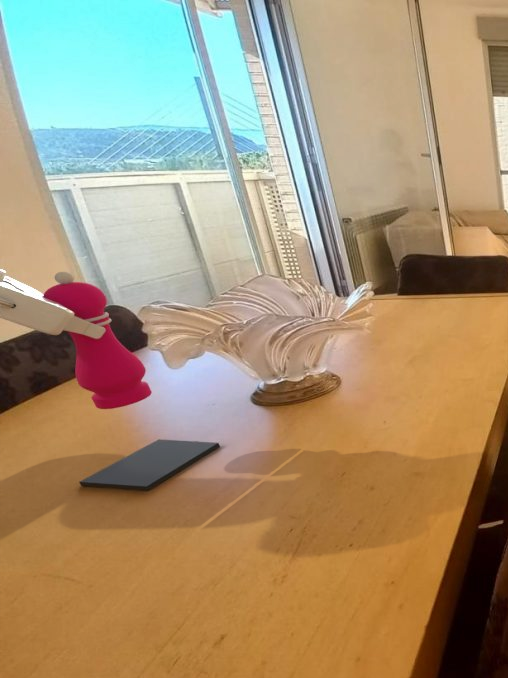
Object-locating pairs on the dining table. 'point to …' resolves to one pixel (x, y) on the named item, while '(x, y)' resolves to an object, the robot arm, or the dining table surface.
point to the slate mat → (150, 465)
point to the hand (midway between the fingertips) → (96, 329)
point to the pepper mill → (100, 348)
